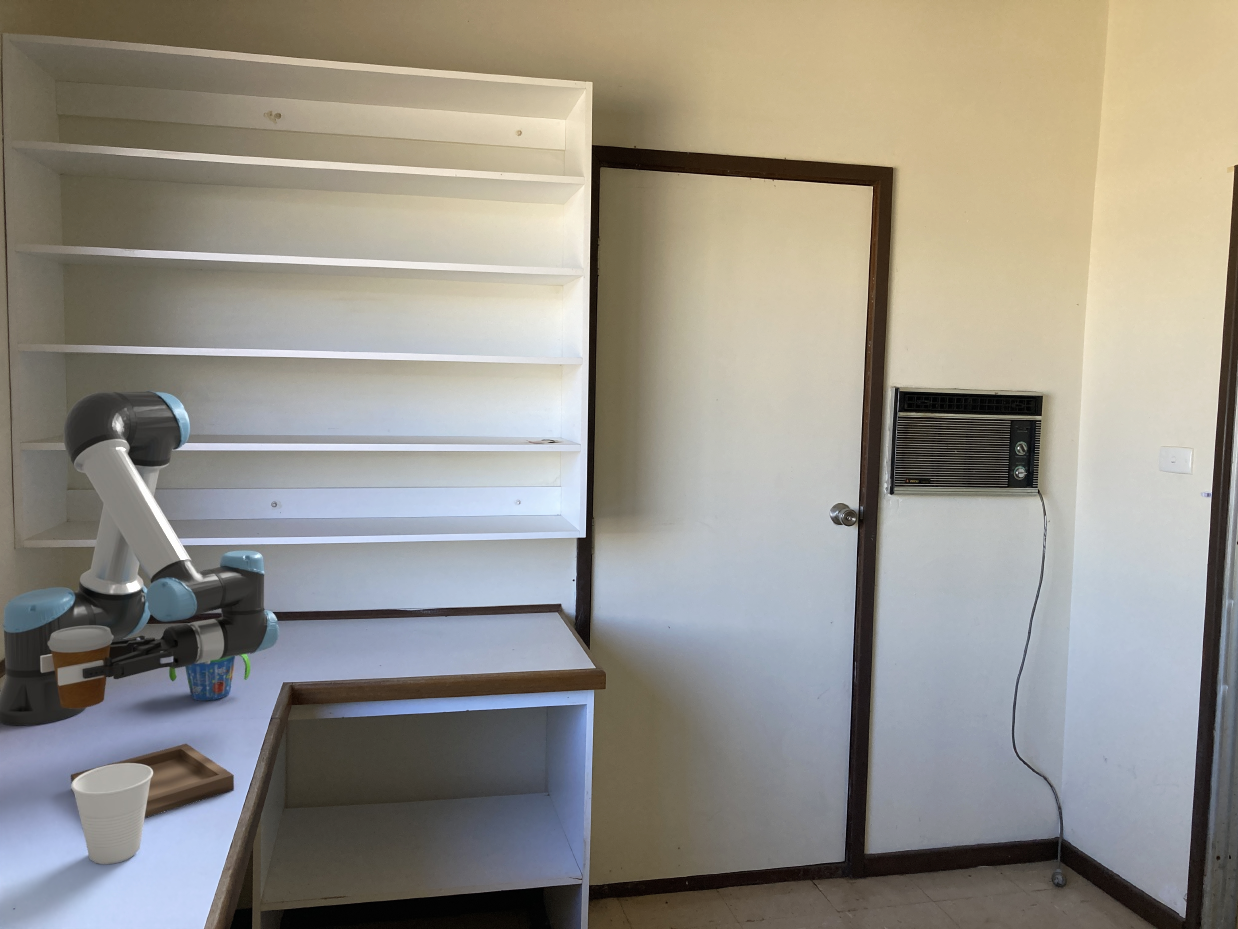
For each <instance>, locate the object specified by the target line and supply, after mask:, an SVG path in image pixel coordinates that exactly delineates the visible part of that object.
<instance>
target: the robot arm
mask: <svg viewBox="0 0 1238 929" xmlns="http://www.w3.org/2000/svg"><path fill="white" fill-rule="evenodd" d="M190 424H191V423H190V419H189V414H188V412H187V411H186V409H185V406H184V404H183V403H182V402H181V401H180V400H179V398H177V397H176V396H175V395H173V394H170V393H167V392H161V391H158V392H157V391H153V390H146V391H105V390H104V391H97V392H93V393H90V394H87V395H85V396H83V397H81V398H80V399H79V400H77V402H75V403H74V404H73V405H72V407H71V408H70V410H68V412H67V414H66V417H65V419H64V423H63V429H62V434H63V435H62V437H63V438H62V439H63V445H64V449H65V451H66V454H67V456H68V458H69V460H70V462H71V464H72V466H73V467H74V468H75V470H76V471H77V472H79V473H82V474H83V473H84V474H86V476H87V478H88V479H89V481H90V483H91V485H92V487H93V488H94V490H95V491H96V493H97V494H98V496H99V498H100V500H101V501H102V503H103V506H102V511H101V515H100V520H99V526H98V530H97V535H96V540H95V545H94V552H93V554H92V561H91V566H90V569H89V570H86V571H85V572H83V573H82V574H81V575H80V577H79V582H78V587H77V590H75V591H73V590H72V589H71V588H68V587H66V586H65V587H63V586H55V587H47V588H45V589H43V588H41V589H39V588H38V589H35V590H31V591H28V592H25V593H21V594H19V595H17V596H15V597H13V598H12V599H10V600H9V601H8V602H7V603H6V605H5V606H4V609H3V618H2V619H3V621H2V629H3V638H4V639H3V640H4V641H3V642H4V665H5V666H4V667H5V679H4V682H3V685H2V688H1V691H0V723H1V724H3V725H4V724H5V725H10V726H29V725H30V726H31V725H41V724H47V723H52V722H57V721H60V720H64V719H68V718H71V717H74V716H77V715H78V714H80V713H82V712H83V711H85V710H86V708H87V707H85V708H77V709H70V708H64V707H62V706H61V703H60V698H59V692H58V686H57V681H56V674H55V669H54V663H53V658H52V652H51V649H50V648H49V646H48V641H50V636H51V634H52V633H53V632H55V631H58V630H61V629H65V628H70V627H77V626H105V627H108V628H110V631H111V634H112V635H113V636H114V638H113V640H112V643H111V644H110V652H109V657H105V665H103V660H99V661H94V662H89V663H83V664H78V665H72V666H67V667H62V668H58V685H59V686H61V685H66V684H71V683H76V682H81V681H86V680H91V679H96V678H101V677H104V675H105V677H106V678H113V679H114V680H119V679H123V678H127V677H131V676H135V675H138V674H142V673H146V672H149V671H150V672H151V671H154V670H158V669H162V668H164V669H165V668H170V667H171V668H174V669H175V670H176V669H179V668H186V667H185V666H190V665H193V664H194V663H196V664H198V663H203V662H205V664H209V663H210V661H212V660H218V659H222V658H227V657H233V656H235V657H238V656H239V655H244V654H246V655H251V654H254V653H258V652H261V651H265V650H268V649H271V648H273V647H274V646H275V645H276V644H277V641H278V639H279V637H280V636H279V635H280V626H279V625H278V619H277V616H276V615H275V614H274V613H273V611H271V610H268V609H265V575H266V572H265V563H264V557H263V555H262V554H261V553H260V552H258V551H255V550H233V551H228V552H226V553H223V554H222V555H221V556H220V563H219V566H218V567H212V568H207V569H203V570H199V569H198V568H197V566H196V565H195V563H194V562H193V560H192V558H191V557H190V556H189V553H188V552H187V550H186V549H185V547H184V546H183V544H182V542H181V541H180V539H179V537H178V536H177V533H176V532H175V531H174V529H173V527H172V526H171V523H170V522H169V520H168V519H167V517H166V515H165V514H164V512H163V511H162V508H161V507H160V506H159V504H158V502H157V500H156V499H155V492H156V488H157V483H158V477H159V474H160V470H162V469H164V468H165V467H168V466H169V464H170V462H171V456H172V452H173V451H176V450H178V449H180V448H182V447H183V446H184V445H185V444H186V443H187V442H188V440H189V437H190V432H191V425H190ZM140 567H141V568H142V570H143V571H144V573H145V575H146V577H147V578H148V581H149V582H150V583H151V584H149V586H148V588H147V587H146V586H145V585H144V579H143V578H142V577H141V576H140V575H139V574H138V573H139V568H140ZM218 610H221V617H219V618H218V617H217V618H211V619H206V620H205V619H204V620H198V621H193V622H192V621H191V622H190V623H189V624H188V623H183V624H178V625H177V624H176V625H171V626H168V627H166V628H165V629H164V631H163V632H162V636H161V637H160V638H156V637H146V636H145V635H139V636H134V637H132V636H133V635H135V634H138V633H139V632H141V631H142V630H143V628H144V627H145V626H146V625H147V623H148V621H149V620H150V617H151V616H153V618H155V620H158V621H160V622H167V623H168V622H174V621H180V620H187V619H189V618H191V617H193V616H198V615H201V614H205V613H208V612H213V611H218ZM130 636H131V637H130ZM128 637H129V638H128ZM67 717H68V718H67Z"/></svg>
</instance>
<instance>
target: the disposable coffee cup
mask: <svg viewBox="0 0 1238 929" xmlns="http://www.w3.org/2000/svg"><path fill="white" fill-rule="evenodd" d="M113 638H114V636H113V635H112V634H111V631H110V628H108V627H105V626H77V627H70V628H65V629H61V630H58V631H55V632H53V633H52V634H51V636H50V641H48V646H49V648H50V649H51V652H52V658H53V663H54V669H55V674H56V681H57V686H58V692H59V698H60V703H61V706H62V707H64V708H70V709H77V708H85V707H86V708H91V707H94V706H97V705H99V704H101V703H103V702H104V700H105V692H106V684H107V677H105V675H104V677H101V678H96V679H91V680H86V681H81V682H76V683H71V684H66V685H61V686H59V685H58V668H62V667H67V666H72V665H78V664H83V663H89V662H94V661H99V660H103V665H105V657H109V652H110V644H111V643H112V640H113Z"/></svg>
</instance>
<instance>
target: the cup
mask: <svg viewBox="0 0 1238 929" xmlns="http://www.w3.org/2000/svg"><path fill="white" fill-rule="evenodd" d="M106 765H107V766H104V765H102V766H103V767H100V766H98V767H99V768H97V767H95V768H96V769H93V768H92V769H93V770H90V771H88V772H85V773H83V774H81V775H80V776H78V777H77V778H75V779H74V781H73V782H72V784H71V783H70V789H72V790H73V791H74V792H73V791H72V790H71V791H72V792H73V793H74V797H75V801H76V802H75V803H76V806H77V811H78V814H79V818H80V823H81V826H82V832H83V835H84V840H85V844H86V848H87V853H88V857H89V859H90V860H91V861H92V862H93V863H95V864H99V865H113V864H117V863H121V862H124V861H126V860H128V859H131V858H132V857H133V856H134V855H136V853H137V852H139V850H140V847H141V842H142V835H143V831H144V830H143V828H144V823H145V822H144V821H145V818H144V817H145V810H146V804H147V798H148V792H149V786H150V780H151V777H152V776H153V770H152V769H151V768H150V767H149V766H146V765H143V764H137V763H121V764H113V765H108V764H106Z"/></svg>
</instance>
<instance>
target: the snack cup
mask: <svg viewBox="0 0 1238 929" xmlns="http://www.w3.org/2000/svg"><path fill="white" fill-rule="evenodd" d="M238 656H239V657H241V658H242V660H243V662H244V666H245V668H244V676H243V677H244V678H243V680H245V681H246V680H247V679H248V678H249V677H250V673H251V663H250V660H249V659H250V658H249V657H248V654H244V655H238ZM235 660H236V656H233V657H227V658H222V659H218V660H212V661H210V663H209V664H205V662H203V663H198V664H196V663H194V664H193V665H190V666H185V667H184V668H185V673H186V677H187V678H186V679H187V683H188V687H189V693H190V696H191V698H193V699H195V700H196V701H210V700H218V699H221V698H224V697H227V695H228V696H229V695H230V694H231V690H232V689H231V688H232V682H233V675H234V668H235ZM168 668H169V669H168V670H169V672H168V674H169V678H170V681H172V682H174V681H176V679H177V674H176V668H175V669H174V668H171V667H168Z"/></svg>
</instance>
